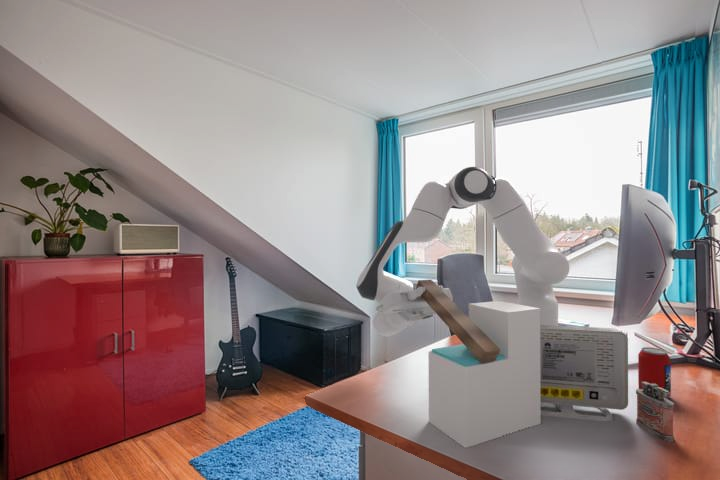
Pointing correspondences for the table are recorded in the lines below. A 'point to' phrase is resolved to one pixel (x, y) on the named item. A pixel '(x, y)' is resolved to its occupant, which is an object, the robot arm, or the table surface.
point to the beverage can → (654, 368)
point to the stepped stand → (489, 377)
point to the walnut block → (459, 323)
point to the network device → (583, 370)
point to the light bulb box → (571, 323)
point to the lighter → (655, 411)
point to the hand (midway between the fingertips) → (432, 288)
